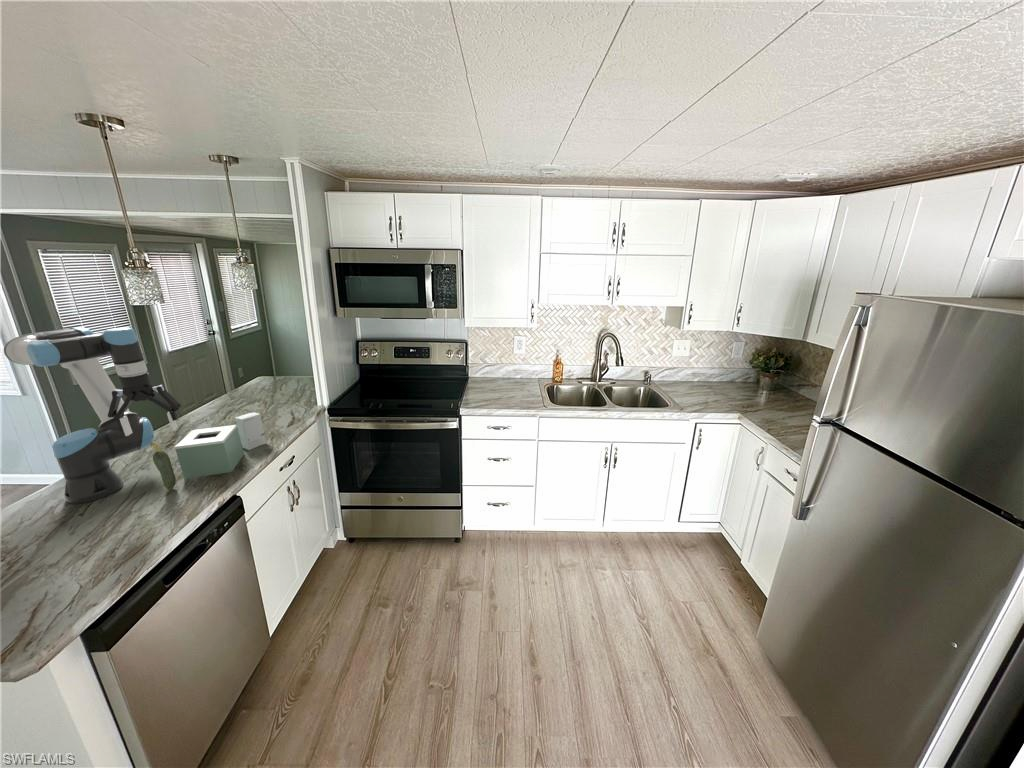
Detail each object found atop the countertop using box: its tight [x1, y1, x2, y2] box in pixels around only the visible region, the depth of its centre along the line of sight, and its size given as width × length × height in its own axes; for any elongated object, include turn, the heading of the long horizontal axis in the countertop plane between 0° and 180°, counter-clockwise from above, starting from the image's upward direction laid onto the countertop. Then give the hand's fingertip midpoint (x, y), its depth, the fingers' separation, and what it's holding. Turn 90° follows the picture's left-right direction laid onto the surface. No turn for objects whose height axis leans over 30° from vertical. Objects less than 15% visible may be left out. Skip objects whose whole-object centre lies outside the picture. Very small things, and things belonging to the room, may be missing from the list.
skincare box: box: [234, 411, 267, 451], centre depth 181 cm, size 8×6×15 cm
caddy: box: [174, 424, 245, 480], centre depth 164 cm, size 16×16×14 cm
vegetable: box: [149, 441, 177, 491], centre depth 146 cm, size 4×4×20 cm
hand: (152, 431), depth 141 cm, fingers open, 13 cm apart
